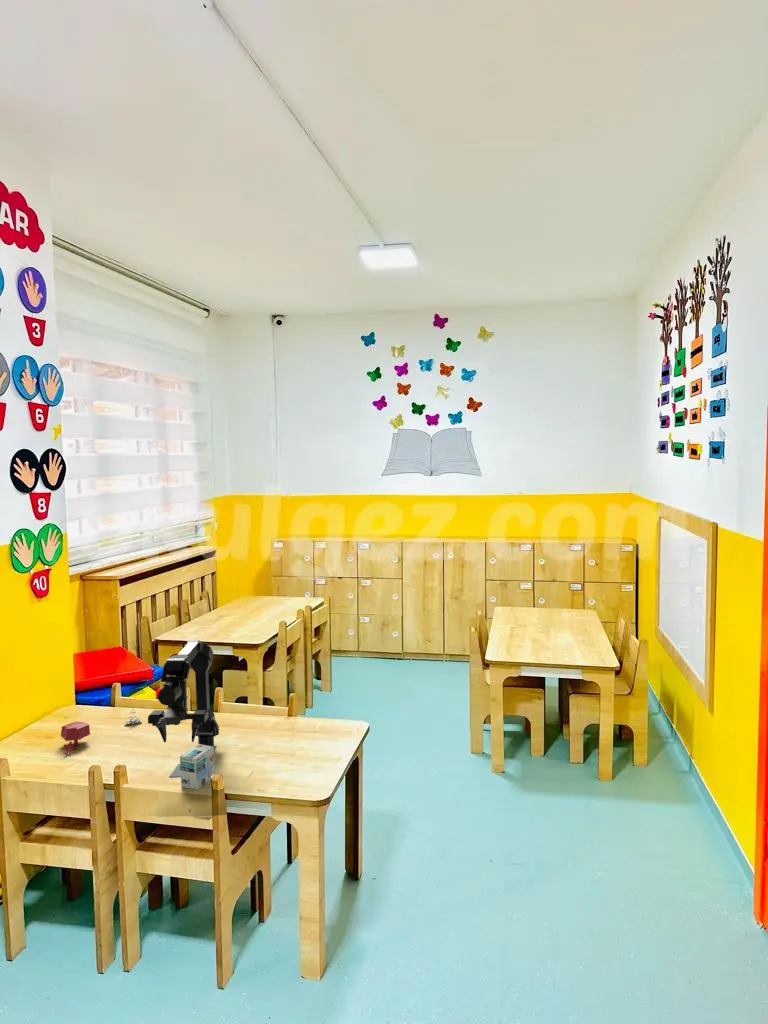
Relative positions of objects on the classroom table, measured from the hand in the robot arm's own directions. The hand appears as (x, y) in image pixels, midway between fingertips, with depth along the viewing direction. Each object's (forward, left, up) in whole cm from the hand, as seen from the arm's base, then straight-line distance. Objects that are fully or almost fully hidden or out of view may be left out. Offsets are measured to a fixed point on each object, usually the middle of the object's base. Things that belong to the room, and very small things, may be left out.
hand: (179, 741), depth 245 cm
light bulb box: (-2, +5, -15) cm, 16 cm away
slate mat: (-12, +4, -15) cm, 19 cm away
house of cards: (-60, -36, -15) cm, 71 cm away
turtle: (-31, -51, -16) cm, 61 cm away
